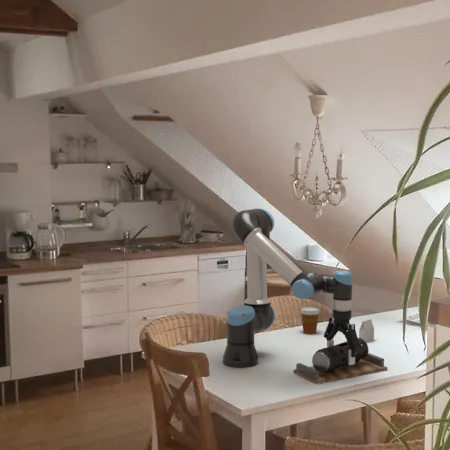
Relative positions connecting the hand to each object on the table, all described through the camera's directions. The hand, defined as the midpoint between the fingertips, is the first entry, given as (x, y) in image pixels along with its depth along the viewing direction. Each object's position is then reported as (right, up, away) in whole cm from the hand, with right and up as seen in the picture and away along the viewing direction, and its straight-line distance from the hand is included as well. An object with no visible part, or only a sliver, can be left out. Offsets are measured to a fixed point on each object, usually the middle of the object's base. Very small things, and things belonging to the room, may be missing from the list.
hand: (340, 360), depth 281 cm
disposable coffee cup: (-5, +2, +60) cm, 61 cm away
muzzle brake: (0, -4, +1) cm, 4 cm away
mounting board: (0, -5, +1) cm, 5 cm away
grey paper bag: (+20, 0, +46) cm, 50 cm away
